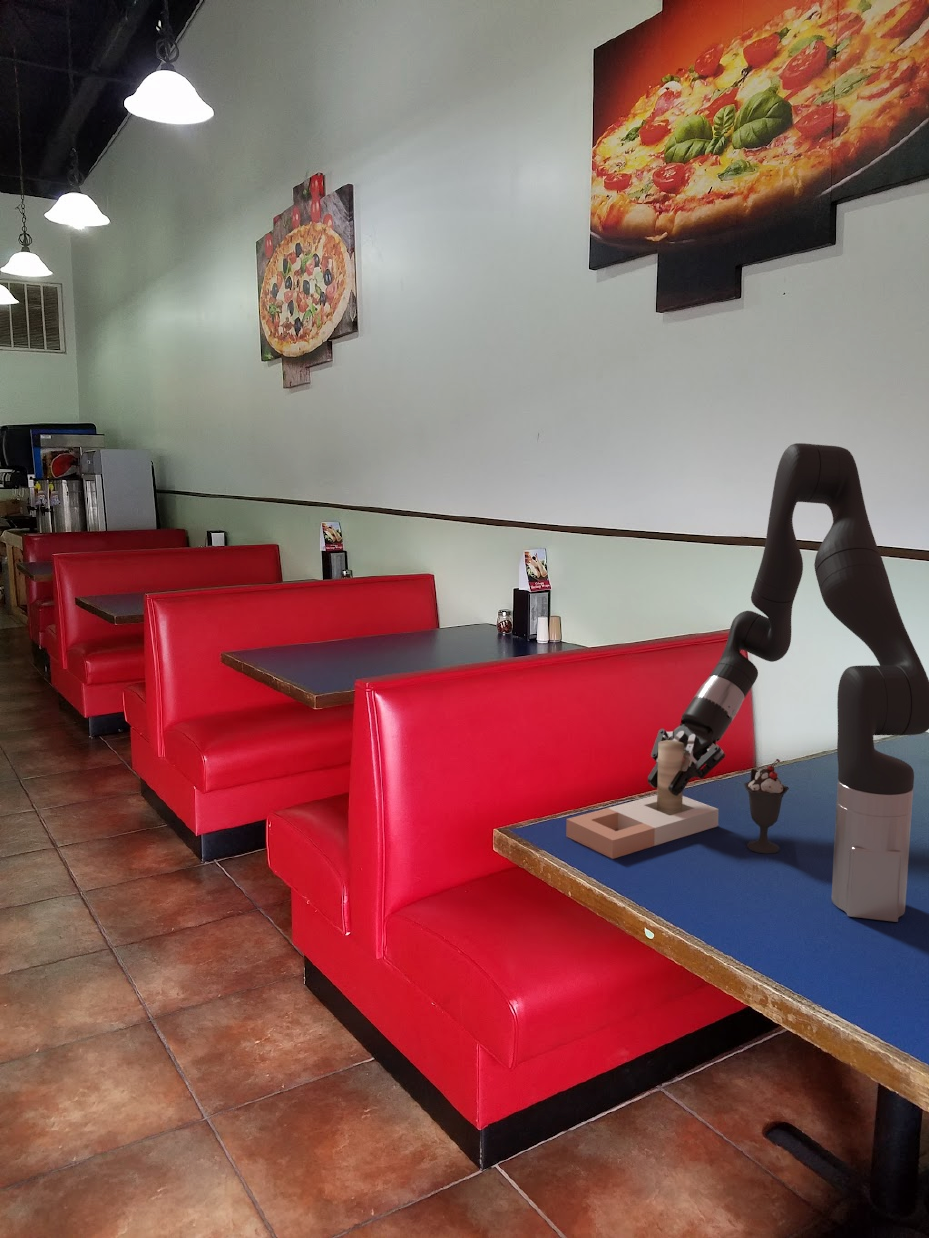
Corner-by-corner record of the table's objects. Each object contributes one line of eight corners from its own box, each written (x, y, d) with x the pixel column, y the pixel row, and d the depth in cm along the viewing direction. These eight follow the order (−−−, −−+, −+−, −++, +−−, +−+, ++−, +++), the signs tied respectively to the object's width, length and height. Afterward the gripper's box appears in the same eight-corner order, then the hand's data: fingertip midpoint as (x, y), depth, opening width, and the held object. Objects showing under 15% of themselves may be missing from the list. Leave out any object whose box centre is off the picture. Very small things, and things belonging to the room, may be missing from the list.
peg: (681, 829, 151) (683, 748, 149) (655, 826, 152) (657, 746, 150) (682, 820, 155) (684, 741, 153) (657, 817, 156) (659, 739, 154)
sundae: (786, 858, 139) (790, 764, 137) (740, 853, 141) (744, 760, 139) (785, 842, 145) (789, 752, 143) (742, 837, 147) (745, 748, 145)
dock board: (612, 858, 139) (612, 840, 139) (566, 836, 148) (566, 818, 148) (718, 826, 152) (718, 808, 152) (669, 807, 161) (670, 791, 161)
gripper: (672, 688, 160) (620, 765, 155) (736, 703, 149) (683, 788, 144) (692, 712, 164) (642, 789, 159) (756, 729, 152) (704, 813, 147)
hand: (662, 788), depth 151 cm, fingers closed on peg, 4 cm apart
